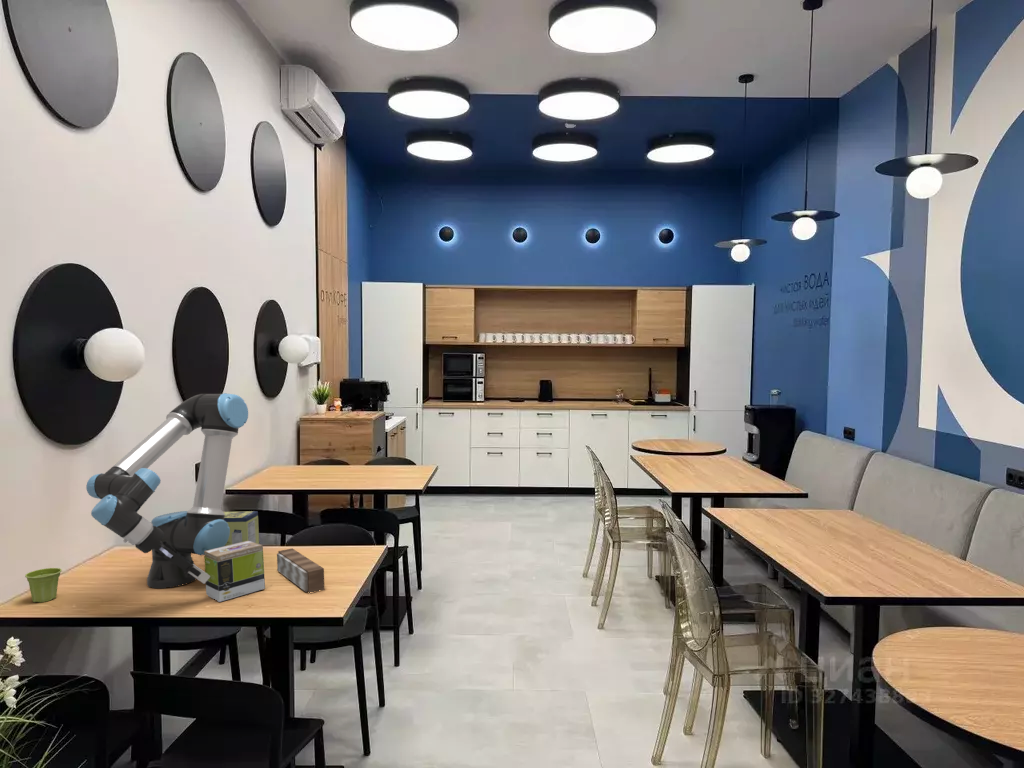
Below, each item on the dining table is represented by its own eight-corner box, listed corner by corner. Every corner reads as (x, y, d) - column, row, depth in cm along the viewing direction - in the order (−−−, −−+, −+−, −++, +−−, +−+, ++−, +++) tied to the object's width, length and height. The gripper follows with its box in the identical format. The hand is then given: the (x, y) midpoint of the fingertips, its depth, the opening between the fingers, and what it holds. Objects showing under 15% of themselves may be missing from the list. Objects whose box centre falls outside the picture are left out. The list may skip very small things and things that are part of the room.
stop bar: (276, 571, 225) (275, 551, 225) (292, 567, 229) (292, 548, 229) (306, 594, 202) (306, 572, 201) (324, 589, 205) (323, 568, 205)
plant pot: (60, 591, 208) (59, 565, 208) (65, 599, 201) (64, 572, 201) (24, 599, 202) (23, 572, 202) (28, 607, 195) (27, 579, 195)
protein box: (221, 550, 253) (220, 511, 253) (260, 549, 253) (258, 510, 252) (208, 558, 243) (206, 517, 242) (248, 557, 242) (247, 517, 242)
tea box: (251, 583, 213) (249, 539, 213) (265, 589, 206) (264, 544, 206) (205, 595, 202) (203, 549, 202) (218, 603, 195) (217, 555, 195)
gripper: (131, 541, 191) (193, 584, 202) (136, 551, 181) (202, 595, 191) (150, 521, 194) (211, 564, 205) (157, 529, 184) (220, 574, 194)
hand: (206, 579), depth 198 cm, fingers closed
